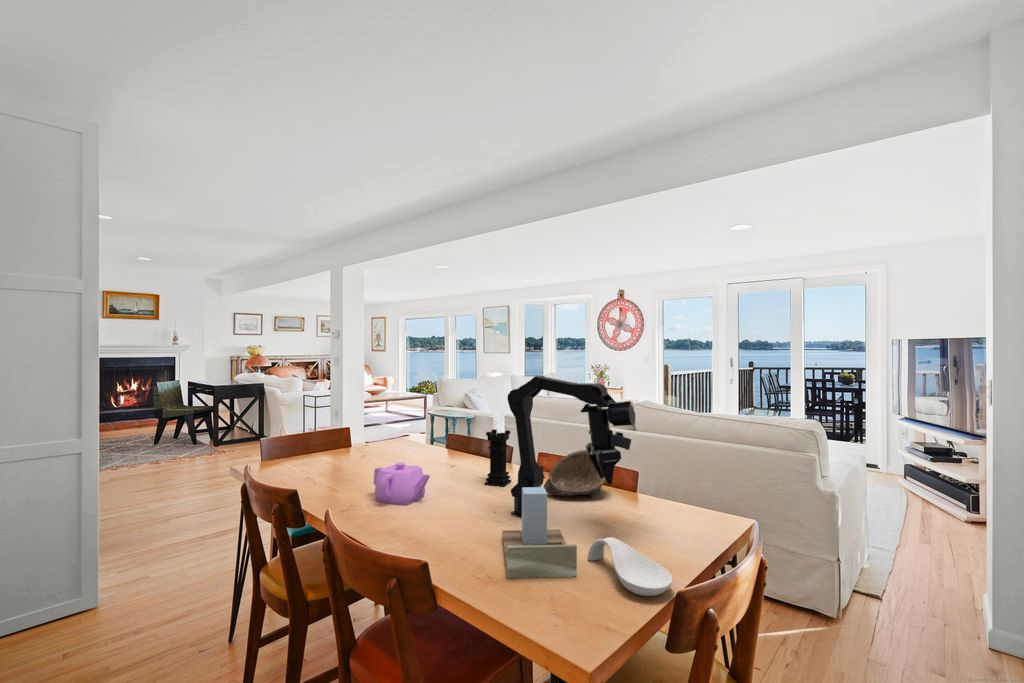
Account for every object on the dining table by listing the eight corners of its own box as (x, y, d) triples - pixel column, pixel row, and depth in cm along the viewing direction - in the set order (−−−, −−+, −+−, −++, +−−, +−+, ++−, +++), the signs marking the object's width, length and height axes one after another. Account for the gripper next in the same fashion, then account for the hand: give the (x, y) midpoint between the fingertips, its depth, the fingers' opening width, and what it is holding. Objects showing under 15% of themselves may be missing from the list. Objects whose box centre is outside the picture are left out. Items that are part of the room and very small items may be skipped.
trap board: (502, 537, 138) (502, 512, 138) (559, 536, 139) (559, 511, 139) (507, 578, 114) (507, 547, 114) (576, 576, 115) (576, 546, 115)
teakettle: (371, 494, 177) (371, 460, 177) (418, 489, 184) (419, 456, 184) (379, 509, 161) (379, 471, 161) (430, 503, 168) (431, 466, 168)
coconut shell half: (552, 505, 167) (619, 480, 172) (535, 464, 177) (599, 442, 181) (551, 520, 179) (614, 497, 183) (535, 481, 188) (595, 460, 193)
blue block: (521, 535, 134) (521, 487, 134) (543, 535, 135) (544, 487, 135) (523, 544, 128) (523, 494, 128) (546, 544, 129) (547, 493, 129)
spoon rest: (684, 596, 107) (684, 562, 107) (642, 609, 101) (642, 574, 101) (612, 555, 128) (612, 527, 128) (574, 564, 122) (574, 535, 122)
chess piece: (511, 481, 195) (511, 430, 195) (504, 487, 187) (504, 433, 187) (492, 479, 197) (492, 429, 197) (484, 485, 190) (484, 432, 190)
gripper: (636, 426, 137) (643, 484, 136) (618, 421, 155) (624, 471, 154) (596, 431, 136) (602, 489, 135) (582, 425, 155) (588, 476, 153)
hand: (605, 481), depth 144 cm, fingers open, 9 cm apart
